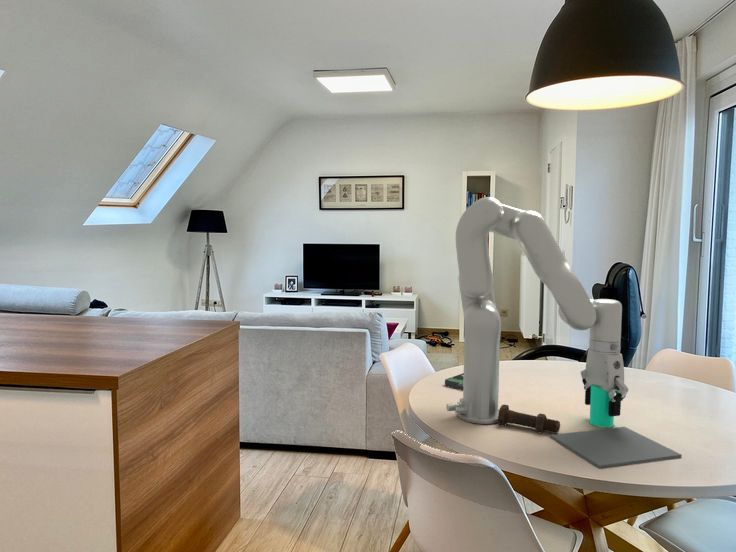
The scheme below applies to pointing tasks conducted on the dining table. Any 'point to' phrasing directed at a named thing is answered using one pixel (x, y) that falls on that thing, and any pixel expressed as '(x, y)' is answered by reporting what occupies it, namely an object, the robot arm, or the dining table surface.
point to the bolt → (527, 420)
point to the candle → (600, 408)
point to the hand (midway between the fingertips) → (601, 409)
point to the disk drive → (455, 381)
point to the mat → (614, 447)
